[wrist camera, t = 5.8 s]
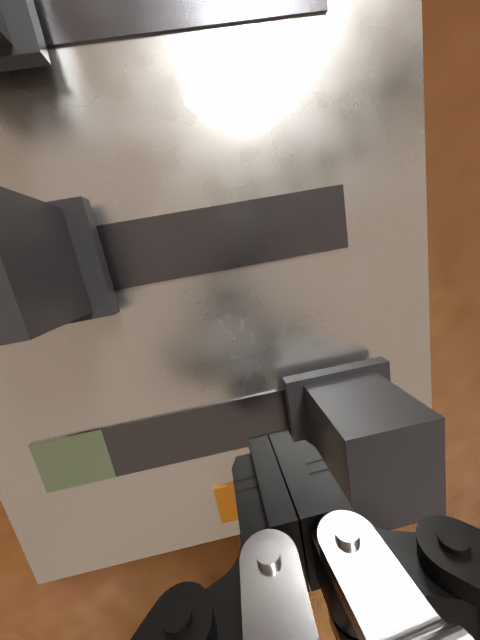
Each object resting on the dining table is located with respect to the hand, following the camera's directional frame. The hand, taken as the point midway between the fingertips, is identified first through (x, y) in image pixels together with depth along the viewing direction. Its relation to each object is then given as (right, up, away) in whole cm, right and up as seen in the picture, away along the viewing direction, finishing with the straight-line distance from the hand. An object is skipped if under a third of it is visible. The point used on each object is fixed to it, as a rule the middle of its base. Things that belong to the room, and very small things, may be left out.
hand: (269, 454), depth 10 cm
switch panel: (-3, +8, +2) cm, 9 cm away
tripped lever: (+3, +1, +2) cm, 4 cm away
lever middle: (-8, +7, 0) cm, 11 cm away
